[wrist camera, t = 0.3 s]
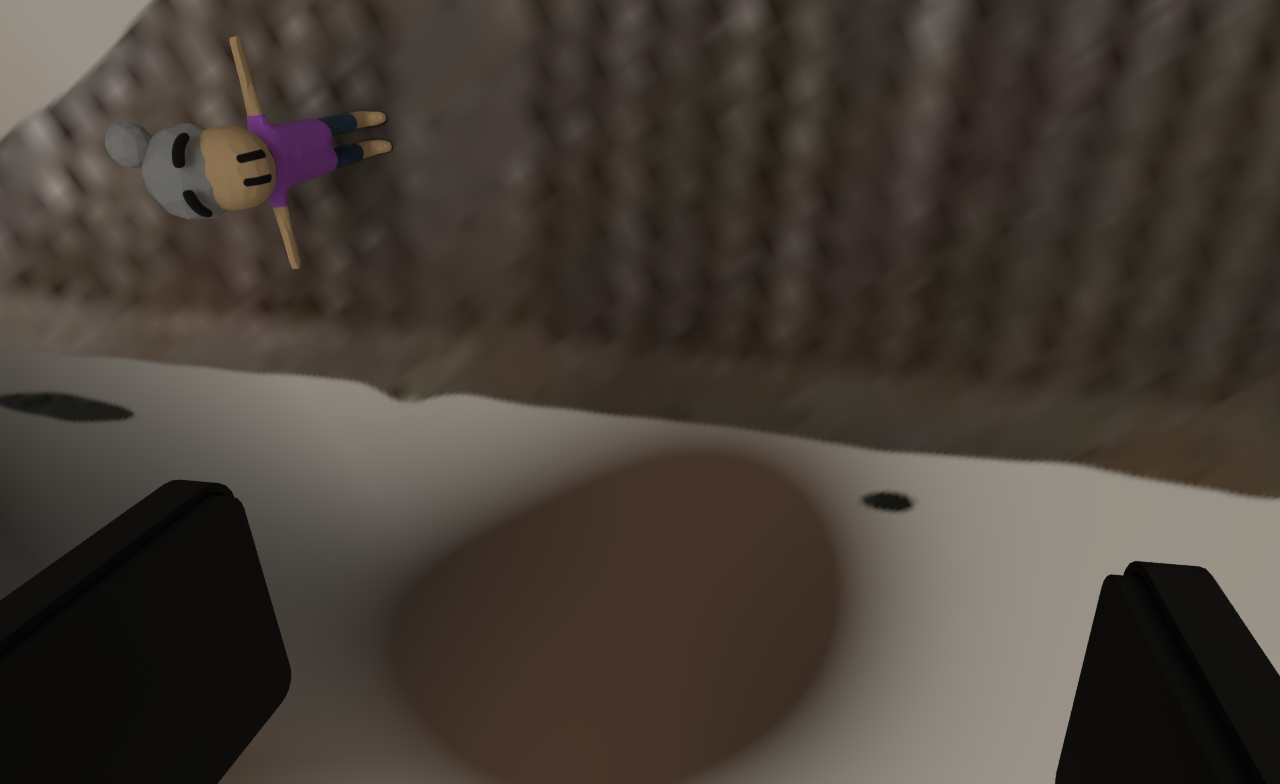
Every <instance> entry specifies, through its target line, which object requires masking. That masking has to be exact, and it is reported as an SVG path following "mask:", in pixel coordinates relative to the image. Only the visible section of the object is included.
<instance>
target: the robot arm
mask: <svg viewBox="0 0 1280 784" xmlns="http://www.w3.org/2000/svg"><path fill="white" fill-rule="evenodd" d="M290 682H291V668H290V664H289V661H288V658H287V654H286V650H285V647H284V644H283V640H282V637H281V633H280V630H279V627H278V623H277V619H276V616H275V613H274V609H273V606H272V602H271V599H270V595H269V592H268V589H267V585H266V582H265V578H264V575H263V572H262V568H261V565H260V561H259V558H258V554H257V551H256V547H255V544H254V540H253V537H252V533H251V530H250V527H249V523H248V520H247V516H246V513H245V509H244V507H243V505H242V503H241V502H240V501H239V500H238V499H237V498H234V495H233V493H232V491H231V490H230V489H229V488H228V487H227V486H225V485H223V484H220V483H212V482H199V481H188V480H172V481H170V482H168V483H166V484H164V485H162V486H161V487H159V488H158V489H157V490H155V491H154V492H152V493H151V494H150V495H148V496H147V497H145V498H144V499H143V500H141V501H140V502H138V503H137V504H135V505H134V506H133V507H131V508H130V509H129V510H127V511H126V512H124V513H123V514H121V515H120V516H119V517H117V518H116V519H114V520H113V521H112V522H110V523H109V524H107V525H106V526H105V527H103V528H102V529H100V530H99V531H97V532H96V533H95V534H93V535H92V536H90V537H89V538H88V539H86V540H85V541H83V542H82V543H81V544H79V545H78V546H76V547H75V548H74V549H72V550H71V551H69V552H68V553H67V554H65V555H64V556H62V557H61V558H59V559H58V560H57V561H55V562H54V563H52V564H51V565H50V566H48V567H47V568H45V569H44V570H43V571H41V572H40V573H38V574H37V575H36V576H34V577H33V578H31V579H30V580H29V581H27V582H26V583H24V584H23V585H21V586H20V587H19V588H17V589H16V590H14V591H13V592H12V593H10V594H9V595H7V596H6V597H5V598H3V599H2V600H0V784H218V782H219V781H220V780H221V779H222V777H223V776H224V775H225V774H226V772H227V771H228V770H229V768H230V767H231V766H232V765H233V763H234V762H235V761H236V760H237V758H238V757H239V756H240V755H241V753H242V752H243V751H244V749H245V748H246V747H247V746H248V745H249V743H250V742H251V741H252V739H253V738H254V737H255V736H256V734H257V733H258V732H259V731H260V729H261V728H262V727H263V726H264V724H265V723H266V722H267V721H268V719H269V718H270V717H271V716H272V714H273V713H274V712H275V710H276V709H277V708H278V707H279V705H280V704H281V703H282V701H283V700H284V698H285V697H286V695H287V692H288V690H289V686H290ZM1055 784H1280V676H1279V674H1278V673H1277V671H1276V670H1275V668H1274V667H1273V665H1272V664H1271V662H1270V661H1269V659H1268V658H1267V656H1266V655H1265V653H1264V652H1263V650H1262V649H1261V648H1260V646H1259V645H1258V643H1257V642H1256V640H1255V639H1254V637H1253V636H1252V634H1251V633H1250V631H1249V630H1248V628H1247V627H1246V625H1245V624H1244V622H1243V621H1242V619H1241V618H1240V616H1239V615H1238V613H1237V612H1236V610H1235V609H1234V607H1233V606H1232V604H1231V603H1230V602H1229V600H1228V598H1227V597H1226V596H1225V594H1224V592H1223V591H1222V589H1221V588H1220V586H1219V585H1218V583H1217V582H1216V581H1215V579H1214V578H1213V576H1212V575H1211V574H1210V573H1209V572H1208V571H1207V570H1206V569H1205V568H1202V567H1199V566H1188V565H1176V564H1165V563H1152V562H1140V561H1135V562H1132V563H1130V564H1129V565H1128V567H1127V568H1126V570H1125V572H1124V575H1123V576H1122V575H1112V574H1111V575H1108V576H1107V577H1106V578H1105V580H1104V582H1103V585H1102V588H1101V592H1100V596H1099V600H1098V604H1097V608H1096V612H1095V616H1094V620H1093V624H1092V629H1091V633H1090V637H1089V641H1088V645H1087V649H1086V653H1085V658H1084V661H1083V666H1082V670H1081V674H1080V678H1079V682H1078V686H1077V690H1076V694H1075V698H1074V702H1073V707H1072V711H1071V715H1070V719H1069V723H1068V727H1067V731H1066V735H1065V739H1064V743H1063V748H1062V752H1061V756H1060V760H1059V764H1058V768H1057V772H1056V779H1055Z"/></svg>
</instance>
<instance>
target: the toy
mask: <svg viewBox="0 0 1280 784" xmlns="http://www.w3.org/2000/svg"><path fill="white" fill-rule="evenodd" d="M230 45H231V48H232V52H233V56H234V60H235V64H236V68H237V72H238V75H239V78H240V85H241V89H242V93H243V98H244V102H245V107H246V111H247V122H248V128H247V130H246V129H244V128H240V127H235V126H217V127H212V128H208V129H206V128H203V127H200V126H197V125H194V124H191V123H187V124H175V125H166V126H165V127H164V128H162V129H161V130H160V131H159V132H157V133H156V134H155V135H154V136H153V137H152V136H151V135H150V134H149V133H148V132H147V131H146V130H145V129H144V128H143V127H142V125H138V124H135V123H132V122H117V123H116V124H115V125H113V126H112V127H111V128H109V129H108V130H107V132H106V140H105V146H106V148H107V150H108V153H109V155H110V156H111V157H112V158H113V159H114V160H115V161H116V162H117V163H118V164H119V165H122V166H125V167H129V168H141V169H142V175H143V178H144V180H145V183H146V186H147V188H148V191H149V193H150V194H151V195H152V196H153V197H154V198H155V199H156V200H157V201H158V202H159V203H160V204H161V205H162V206H163V207H164V208H165V209H166V210H167V211H168V212H169V213H170V214H173V215H176V216H179V217H182V218H186V219H213V218H219V217H220V216H221V215H222V214H224V213H225V212H226V211H227V210H244V209H249V208H252V207H254V206H257V205H259V204H261V203H262V202H263V201H265V200H266V199H267V198H269V200H270V203H271V206H272V207H273V209H274V212H275V215H276V218H277V221H278V225H279V228H280V231H281V234H282V237H283V240H284V244H285V247H286V251H287V254H288V258H289V261H290V264H291V267H292V269H299V268H300V265H301V260H300V256H299V252H298V248H297V244H296V240H295V236H294V232H293V228H292V224H291V221H290V217H289V212H288V201H287V191H288V189H290V188H291V187H292V186H293V185H295V184H298V183H301V182H304V181H307V180H310V179H312V178H315V177H318V176H321V175H324V174H327V173H329V172H331V171H333V170H334V169H336V168H339V167H342V166H345V165H349V164H352V163H355V162H358V161H360V160H362V159H364V158H367V157H371V156H374V155H376V154H379V153H386V152H389V151H390V150H391V149H392V146H391V143H390V142H387V141H384V140H370V141H364V142H360V143H356V144H349V145H345V146H341V147H337V148H333V145H332V136H335V135H338V134H342V133H346V132H350V131H353V130H355V129H358V128H362V127H368V126H376V125H379V124H381V123H383V122H384V121H386V115H385V114H384V113H382V112H369V111H357V112H353V113H342V114H337V115H332V116H328V117H323V118H318V119H304V120H299V121H294V122H288V123H281V124H276V125H271V124H270V123H269V122H268V120H267V118H266V116H265V114H263V111H262V108H261V105H260V103H259V100H258V96H257V92H256V89H255V86H254V82H253V78H252V75H251V71H250V68H249V64H248V61H247V57H246V54H245V50H244V47H243V43H242V40H241V38H240V37H237V36H234V37H231V38H230Z"/></svg>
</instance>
